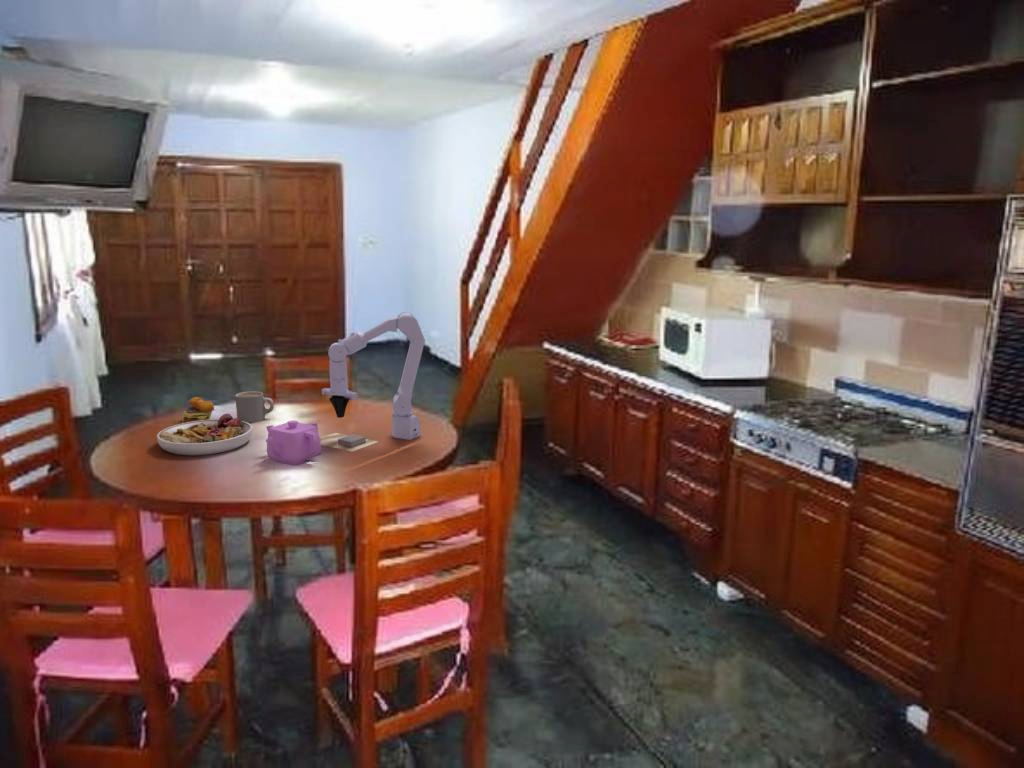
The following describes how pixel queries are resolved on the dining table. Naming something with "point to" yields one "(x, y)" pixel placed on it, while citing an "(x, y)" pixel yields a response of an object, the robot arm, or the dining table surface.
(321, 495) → the dining table surface
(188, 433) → the bowl
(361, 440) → the tile
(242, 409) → the coffee mug
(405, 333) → the robot arm
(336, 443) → the board
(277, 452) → the teakettle
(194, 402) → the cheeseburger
